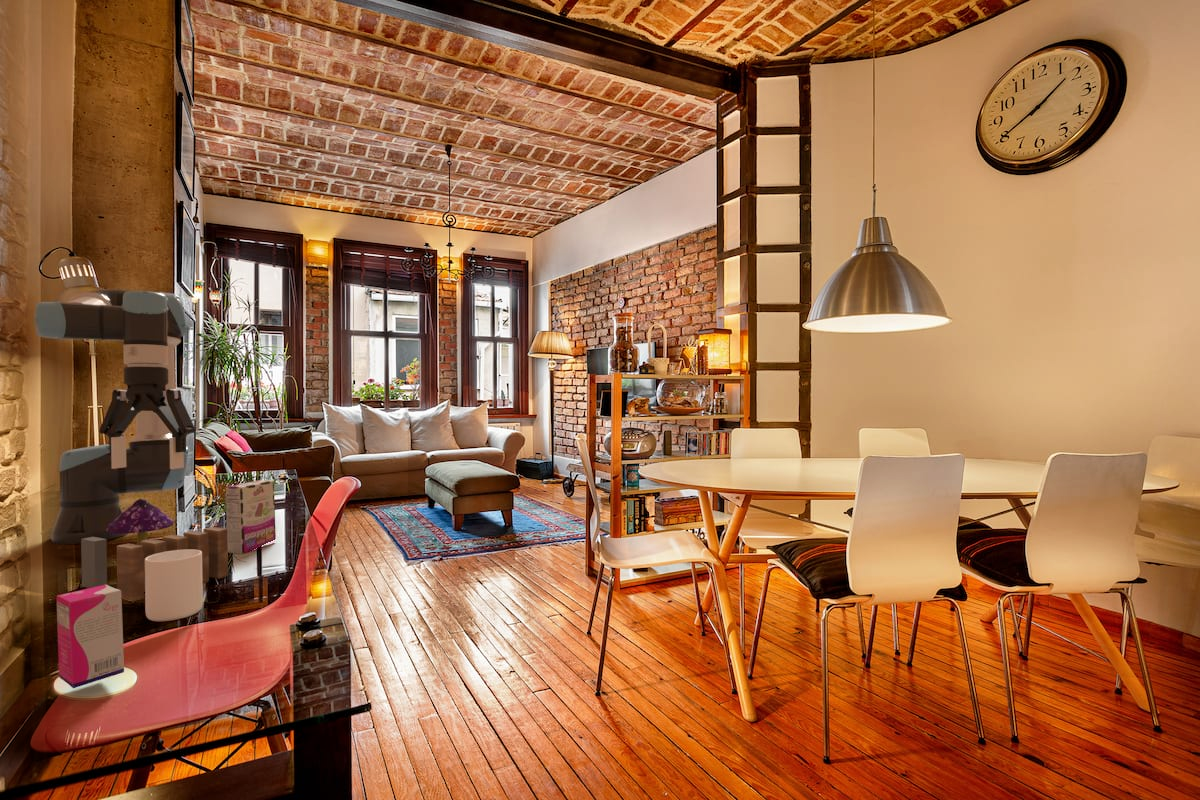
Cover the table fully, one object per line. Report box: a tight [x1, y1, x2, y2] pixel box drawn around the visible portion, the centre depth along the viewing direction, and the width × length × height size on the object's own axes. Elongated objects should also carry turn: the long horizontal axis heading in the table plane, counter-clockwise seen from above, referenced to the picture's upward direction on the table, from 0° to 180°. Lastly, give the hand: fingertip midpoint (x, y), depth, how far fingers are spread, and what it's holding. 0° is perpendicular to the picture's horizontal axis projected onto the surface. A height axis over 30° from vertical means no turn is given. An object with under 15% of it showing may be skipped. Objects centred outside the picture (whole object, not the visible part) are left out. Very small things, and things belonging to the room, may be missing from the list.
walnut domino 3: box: [162, 534, 188, 552], centre depth 123 cm, size 2×5×10 cm, turn 63°
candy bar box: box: [224, 479, 277, 555], centre depth 153 cm, size 11×5×16 cm, turn 168°
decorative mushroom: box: [106, 498, 176, 545], centre depth 140 cm, size 12×12×15 cm
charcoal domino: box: [80, 537, 108, 589], centre depth 122 cm, size 2×5×10 cm, turn 63°
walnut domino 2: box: [140, 538, 166, 592], centre depth 120 cm, size 2×5×10 cm, turn 63°
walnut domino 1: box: [116, 542, 145, 601], centre depth 116 cm, size 2×5×10 cm, turn 63°
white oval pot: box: [144, 549, 204, 622], centre depth 110 cm, size 12×8×10 cm
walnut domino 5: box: [202, 526, 229, 580], centre depth 131 cm, size 2×5×10 cm, turn 63°
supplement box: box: [56, 584, 125, 689], centre depth 84 cm, size 6×6×12 cm
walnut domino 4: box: [183, 530, 210, 584], centre depth 127 cm, size 2×5×10 cm, turn 63°
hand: (147, 468), depth 129 cm, fingers open, 13 cm apart
